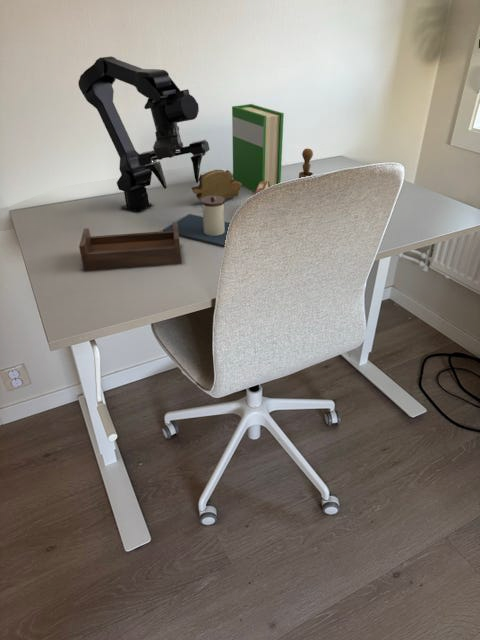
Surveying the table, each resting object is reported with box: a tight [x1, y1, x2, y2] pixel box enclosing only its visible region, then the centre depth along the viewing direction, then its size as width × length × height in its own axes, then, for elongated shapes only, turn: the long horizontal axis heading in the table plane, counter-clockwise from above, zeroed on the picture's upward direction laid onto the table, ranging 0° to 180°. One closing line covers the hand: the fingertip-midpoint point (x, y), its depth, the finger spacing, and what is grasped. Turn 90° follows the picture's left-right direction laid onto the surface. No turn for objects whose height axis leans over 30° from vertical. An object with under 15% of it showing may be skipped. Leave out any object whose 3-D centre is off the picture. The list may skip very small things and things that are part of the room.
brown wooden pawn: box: [298, 148, 314, 179], centre depth 136 cm, size 7×6×18 cm
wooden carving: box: [191, 169, 243, 201], centre depth 145 cm, size 16×5×10 cm, turn 120°
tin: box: [254, 181, 270, 195], centre depth 137 cm, size 15×3×8 cm, turn 168°
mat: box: [162, 213, 231, 248], centre depth 129 cm, size 20×13×1 cm, turn 61°
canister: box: [200, 195, 226, 236], centre depth 125 cm, size 6×6×10 cm
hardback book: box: [231, 103, 285, 192], centre depth 153 cm, size 18×7×24 cm, turn 33°
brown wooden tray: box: [78, 221, 182, 272], centre depth 115 cm, size 10×23×6 cm, turn 99°
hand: (181, 185), depth 127 cm, fingers open, 9 cm apart
